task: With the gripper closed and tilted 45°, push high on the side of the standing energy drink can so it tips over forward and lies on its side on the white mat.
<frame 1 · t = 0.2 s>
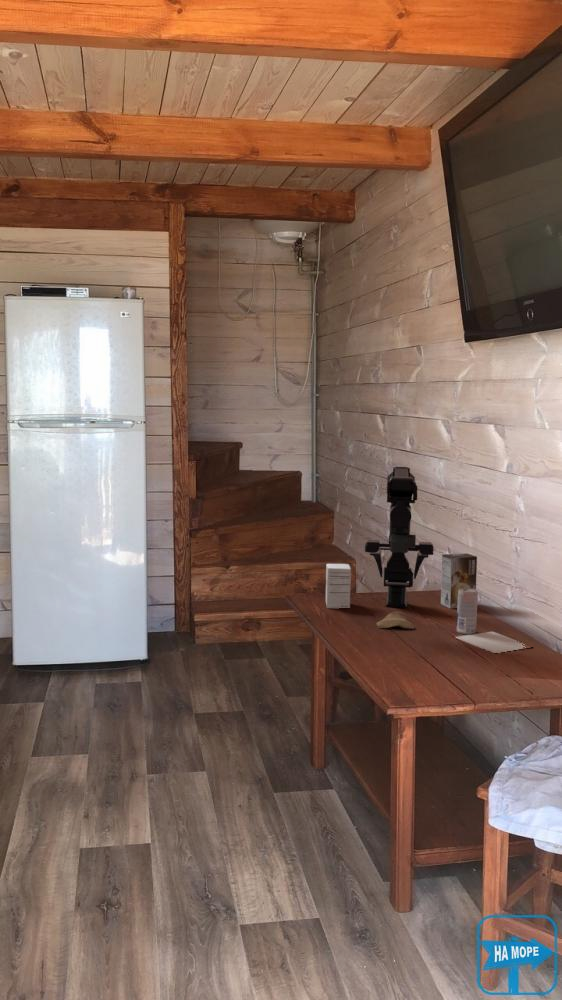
hand: (398, 577, 243), 15 cm above the table, fingers open, 9 cm apart
pottery shard: (394, 626, 249), on the table
white mat: (493, 642, 232), on the table
coffee box: (457, 606, 273), on the table
energy drink: (466, 632, 243), on the table
supplement box: (337, 606, 270), on the table
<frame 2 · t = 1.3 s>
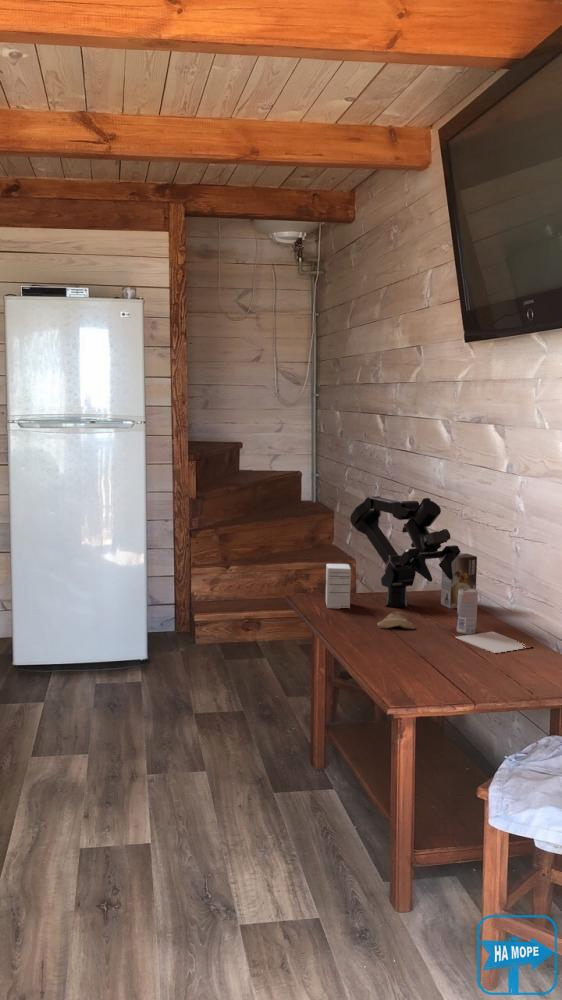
hand: (441, 580, 251), 12 cm above the table, fingers open, 7 cm apart
nothing on the table moved.
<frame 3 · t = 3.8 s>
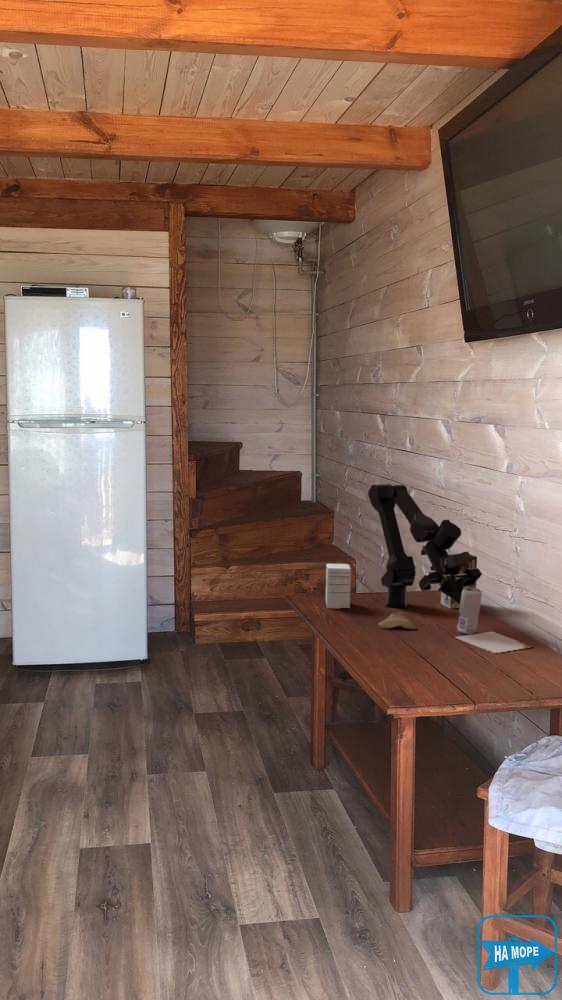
hand: (463, 604, 243), 8 cm above the table, fingers closed
energy drink: (466, 631, 242), on the table, touching gripper
everything else where it was.
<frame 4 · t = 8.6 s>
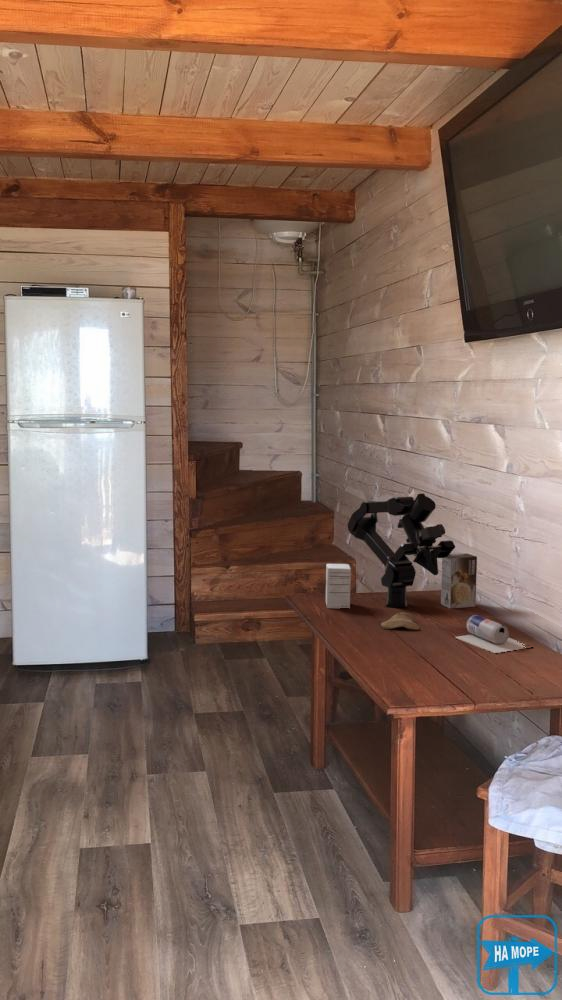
hand: (436, 574, 253), 14 cm above the table, fingers closed
energy drink: (473, 623, 240), point 3 cm above the table, touching white mat
at the end: energy drink tilted 90°; energy drink 9.0 cm from the white mat (horizontally) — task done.
